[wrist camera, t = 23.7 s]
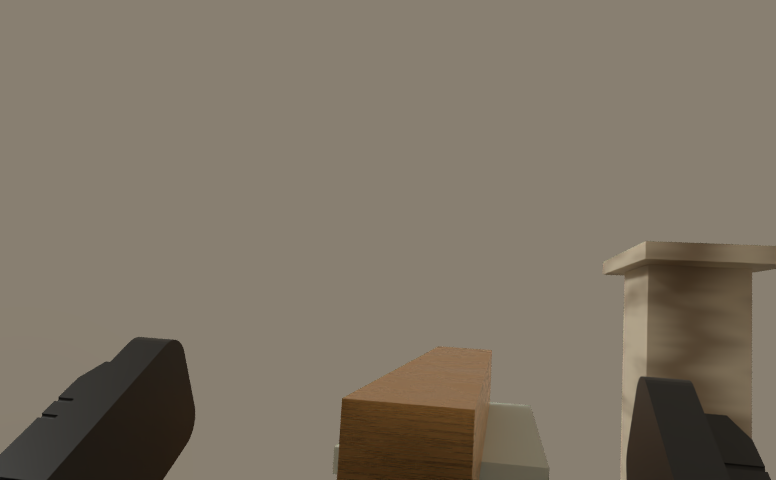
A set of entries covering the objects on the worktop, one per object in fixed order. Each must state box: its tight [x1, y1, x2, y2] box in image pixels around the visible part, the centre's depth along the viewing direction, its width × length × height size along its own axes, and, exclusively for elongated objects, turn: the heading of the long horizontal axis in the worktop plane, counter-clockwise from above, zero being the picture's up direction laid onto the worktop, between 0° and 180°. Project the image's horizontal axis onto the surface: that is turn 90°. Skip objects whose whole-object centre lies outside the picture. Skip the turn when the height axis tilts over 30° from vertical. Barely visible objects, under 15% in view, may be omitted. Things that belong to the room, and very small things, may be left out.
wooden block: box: [337, 347, 492, 480], centre depth 27 cm, size 3×24×3 cm, turn 170°
